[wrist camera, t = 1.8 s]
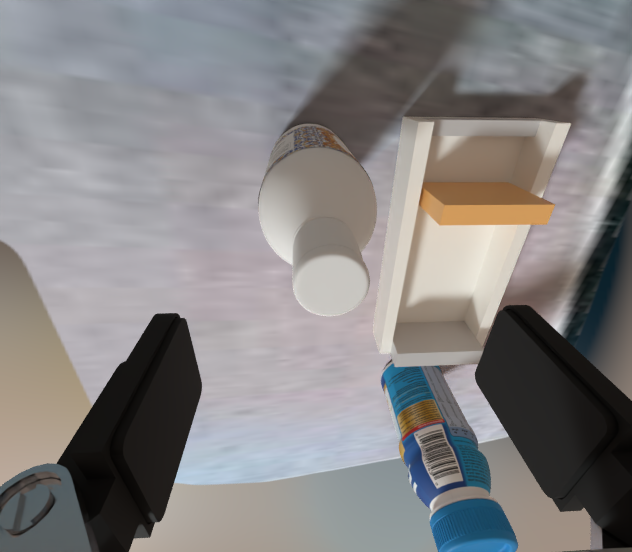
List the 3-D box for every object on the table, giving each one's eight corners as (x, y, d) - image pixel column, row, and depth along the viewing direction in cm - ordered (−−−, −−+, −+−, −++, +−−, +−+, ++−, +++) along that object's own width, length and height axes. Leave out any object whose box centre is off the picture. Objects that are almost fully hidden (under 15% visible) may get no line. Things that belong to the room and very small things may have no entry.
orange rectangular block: (416, 182, 29) (444, 205, 23) (508, 182, 29) (555, 204, 24) (413, 199, 30) (439, 225, 24) (502, 199, 30) (546, 224, 25)
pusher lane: (402, 116, 27) (428, 125, 22) (537, 118, 28) (592, 126, 23) (372, 330, 40) (384, 367, 35) (465, 327, 40) (490, 363, 35)
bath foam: (360, 177, 30) (450, 308, 13) (297, 215, 31) (302, 377, 14) (322, 105, 26) (377, 151, 9) (254, 151, 28) (194, 263, 11)
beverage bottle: (448, 354, 43) (551, 535, 26) (424, 395, 47) (499, 573, 30) (390, 347, 41) (458, 533, 24) (370, 389, 46) (416, 573, 29)
